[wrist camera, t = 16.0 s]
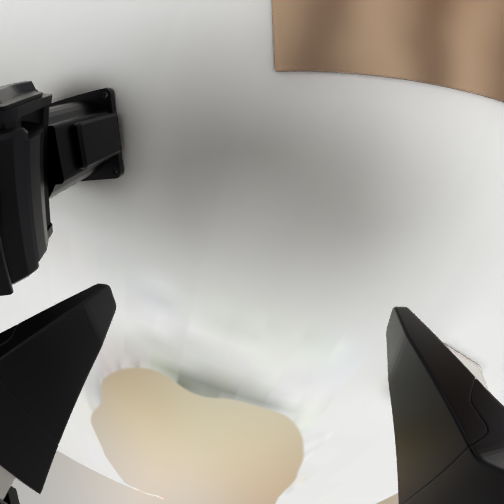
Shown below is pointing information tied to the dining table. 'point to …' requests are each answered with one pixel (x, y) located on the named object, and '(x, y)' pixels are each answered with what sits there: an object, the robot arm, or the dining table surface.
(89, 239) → the dining table surface
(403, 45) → the wooden base with peg
